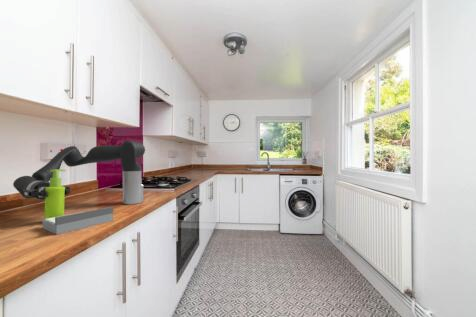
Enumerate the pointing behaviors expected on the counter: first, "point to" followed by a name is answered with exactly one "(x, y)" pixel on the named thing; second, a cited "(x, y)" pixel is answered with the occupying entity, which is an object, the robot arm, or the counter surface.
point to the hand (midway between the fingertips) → (57, 193)
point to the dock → (77, 220)
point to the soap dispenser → (55, 197)
